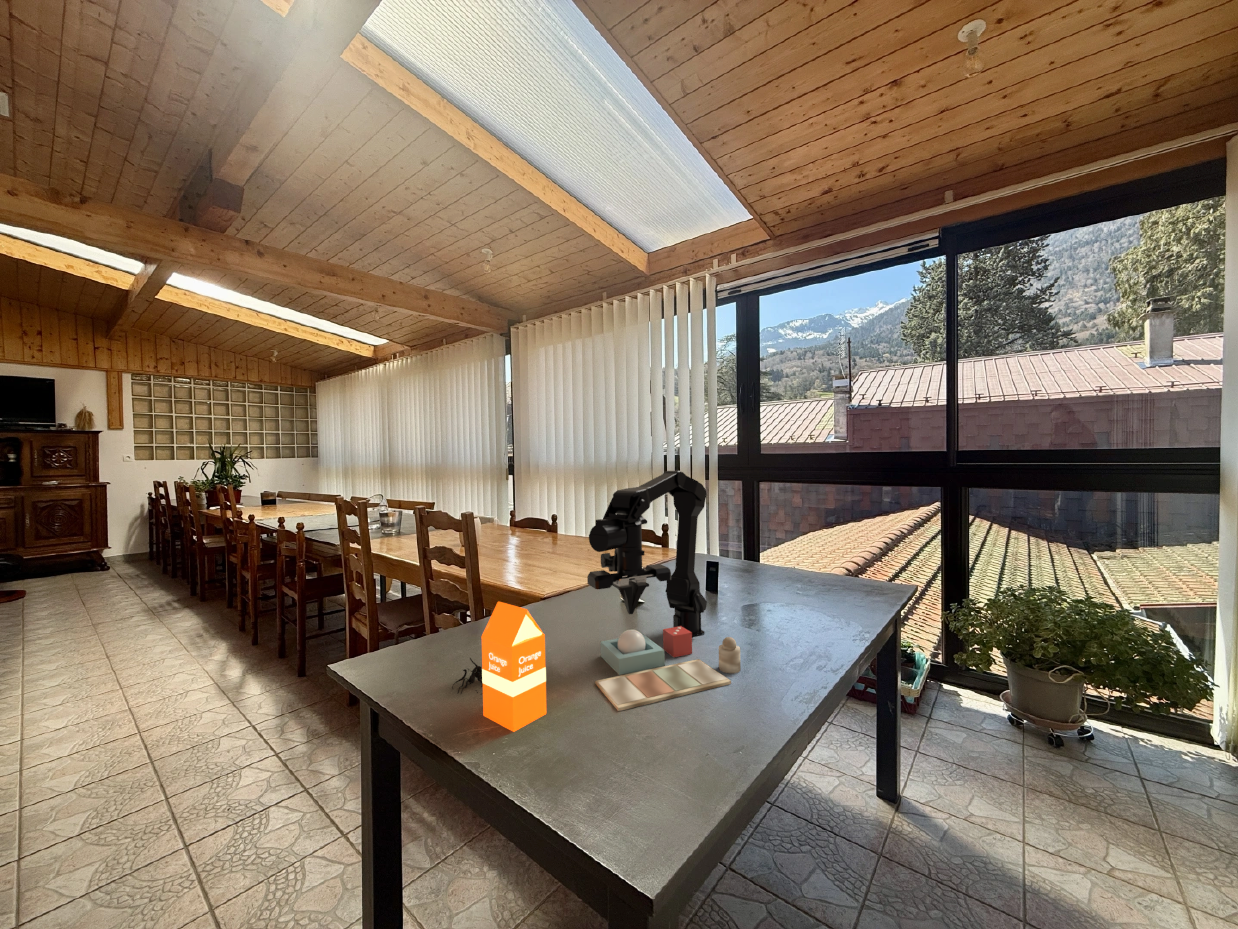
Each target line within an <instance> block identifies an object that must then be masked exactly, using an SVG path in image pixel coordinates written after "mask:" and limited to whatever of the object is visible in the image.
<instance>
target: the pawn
mask: <svg viewBox="0 0 1238 929" xmlns="http://www.w3.org/2000/svg"><path fill="white" fill-rule="evenodd" d="M721 642H722V643H721V644H720V645H719V646H718V670H719V671H721V672H722V673H724V674H738V673H740V672H741V647H740V646H739V645H737V642H736V640H735V639H734V638H733V637H731V636H726V637H725V638H723V640H722V641H721Z"/></svg>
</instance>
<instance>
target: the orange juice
mask: <svg viewBox="0 0 1238 929" xmlns="http://www.w3.org/2000/svg"><path fill="white" fill-rule="evenodd" d="M480 638H481V664H482V667H481V668H482V679H481V681H482V683H483V687H482V693H483V694H482V707H483V709H482V711H483V712H482V714H483V717H485V718H487V719H489V720H491V721H492V722H495V723H496V724H498V725H500V726H501V727H503V728H505V729H507V730H509V731H511V732H513V733H515V732H516V731H518V730H520V729H521V728H524V727H525V726H527V725H529V724H531V723H533V722H534V721H536V720H538V719H540V718H541V717H543V716H545V715H546V714H547V667H546V634H545V633H544V632H543V631H542V629H541V628H540V626H539V625H538V624H537V622H536V621H535V618H533V617H532V615H531V613H530V612H529V610H528V609H527V608H524V607H520V606H517V605H513V604H510V603H506V602H504V601H503V602H502V601H497V602H496V605H495V607H494V609H493V611H492V613H491V615H490V618H489V619H488V622H487V624H486V626H485V628H484V630H483V632H482V635H481V637H480ZM482 683H481V684H482Z"/></svg>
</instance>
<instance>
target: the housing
mask: <svg viewBox="0 0 1238 929" xmlns="http://www.w3.org/2000/svg"><path fill="white" fill-rule="evenodd" d="M641 634H642V635H643V637H644V639H645V643H646V646H645V650H644V651H639V652H634V653H629V654H624V655H623V654H622V653H621V652H620V651H619V650H618V639H619V637H618V638H611V639H607V640H602V641H600V644H599V645H600V657H601V658H602V659H603V661H605V662H606V664H608V666H610V668H612V670H614V672H616V673H617V675H618V676H621V675H626V674H630V673H635V672H640V671H645V670H649V669H654V668H659V667H664V666H666V664H665V662H666V660H665V651H664V649H663V647H661V646H660V645H658V644H657V643H655V642H654V641H653V640H651V639H650V638H649V637H648V636H646V635H645V634H643V633H641Z"/></svg>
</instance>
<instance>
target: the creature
mask: <svg viewBox="0 0 1238 929" xmlns="http://www.w3.org/2000/svg"><path fill="white" fill-rule="evenodd" d="M469 660H470V661H471V663H472V664H473V665H474V668H473V669H472V670H471V669H469V668H468V667H466V669H462V671H463V672H464V674H463V676H462V677H461V678H460V679H457V680H456V681H455V682H454V683H453V684H452V688H451V690H454V685H455V684H457V683H458V682H460V681H462V683H461V685H460V686H459V687H458V689H457V695H458V694H459V693H460V695H462V694H463V690H464V689H467V688H468V685H472V684H474V683H475V681H476V679H477V681H478V682H479V683H481V686H480V688H483V683H482V667H481V666H480V665H478V664H477V663H475V662H474V661H473V659H472V658H471V657H469ZM468 672H471V674H470V675H469V678H467V677H466V676H467V674H468ZM465 680H466V682H465ZM460 690H461V692H460ZM476 694H478V691H476ZM479 695H483V692H482V693H480V694H479Z"/></svg>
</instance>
